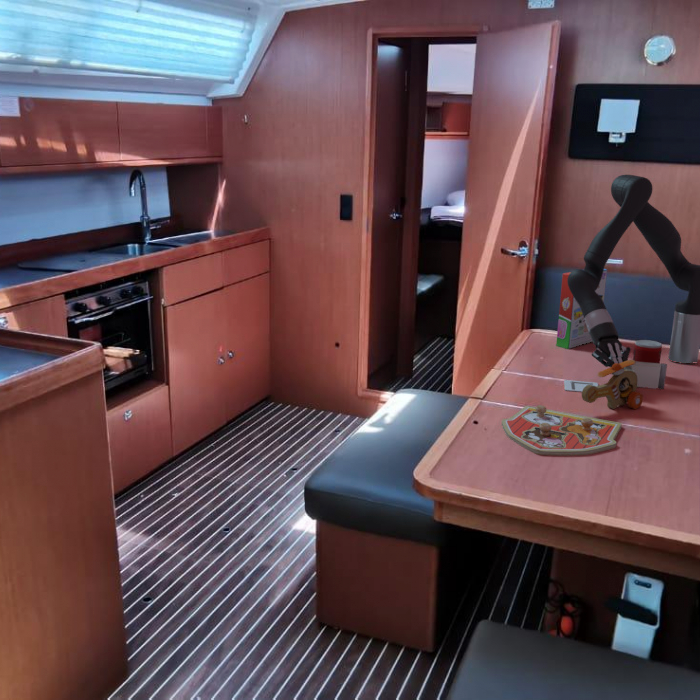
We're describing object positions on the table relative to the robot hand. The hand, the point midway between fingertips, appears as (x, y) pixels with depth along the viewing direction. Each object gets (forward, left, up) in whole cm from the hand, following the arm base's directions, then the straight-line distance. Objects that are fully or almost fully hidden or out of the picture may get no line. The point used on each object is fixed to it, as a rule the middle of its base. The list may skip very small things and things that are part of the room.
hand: (621, 377), depth 217 cm
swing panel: (-3, +1, -5) cm, 6 cm away
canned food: (-23, +5, -5) cm, 24 cm away
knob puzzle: (+41, -10, -6) cm, 43 cm away
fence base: (-11, +5, -5) cm, 13 cm away
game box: (-54, -21, -5) cm, 58 cm away
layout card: (-1, -11, -5) cm, 13 cm away
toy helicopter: (+14, -1, -5) cm, 15 cm away
